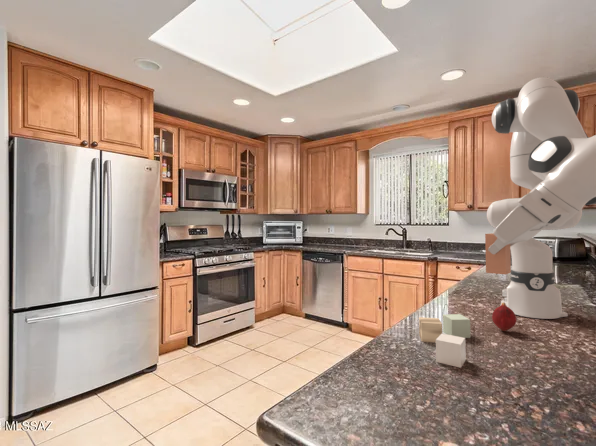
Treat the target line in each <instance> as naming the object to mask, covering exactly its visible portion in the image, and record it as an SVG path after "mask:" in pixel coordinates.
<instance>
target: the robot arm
mask: <svg viewBox="0 0 596 446" xmlns="http://www.w3.org/2000/svg"><path fill="white" fill-rule="evenodd" d="M580 102H581V101H580V98H579V96H578V93H577V92H576V91H575V90H573V89H564V88H563V86H562V85H561V84H560V83H559V82H557V81H556V80H555V79H553V78H551V77H548V76H547V77H546V76H542V77H540V76H539V77H536V78H532V79H531V80H529V81H528V82H526V83H525V84H524V85H523V86H522V88H521V89H520V91H519V93H518V96H517V97H514V98H510V97H509V98H507V99H505V100H503V101H500V102H499V103H497V104H496V105H495V107H494V109H493V111H492V113H491V123H492V126H493V128H494V131H495V132H496V133H498V134H508V135H509V133H512V135H511V136H512V137H511V142H510V151H509V162H510V163H509V164H510V165H509V167H510V168H509V170H510V173H509V174H510V180H511V182H512V183H514V184H515V185H516V186H518V187H522V188H525V189H528V190H529V192H528V193H526V194H525V195H523V196H522V197H517V198H516V197H515V198H505V199H502V200H501V199H500V200H496V201H493V202H492V203H490V205H488V208H487V211H486V219H487V221H488V222H487V223H489V225H490V226H491V227H493V228H494V231H493V232H492V233H493V234H494V235H495V236H496V237H497V240H496V241H495V242H494V243H493V245H491V246H490V247H489V248H488V251H490V252H491V253H492V254H497V253H498V252H499V251H500V250H502V248H503V247H505V246H506V245H508V244H510V254H511V273H509V276H510V277H509V278H510V282H509V284H508V285H507V287H506V288H504V289H502V290H501V293H502V294H501V295H502V297H504V298H503V299H501V301H500V306H501V305H502V303H505V304H506V306H507V307H509V308H510V309H511V310H512V311H513V312H514V313H515V316H516V315H517V316H521V317H524V318H525V317H526V318H532V319H543V320H545V319H546V320H548V319H549V320H552V319H559V318H563V317H565V318H567V317H569V315H568V312H567V311H564V310H563V307H562V297H561V296H562V294H561V290H560V288H557V287H556V286H555V283H556V281H555V280H556V276H555V272H553V271H554V270H553V266H554V263H553V250H552V248H551V247H550V246H549V245H548V244H546V243H545V242H543V241H540V240H538V239H535V238H534V237H535V236H536V235H537V234H539V233H540V232H541V231H557V230H565V229H571V228H575V227H576V226H577V225H578V224H579V223H580V221H581V220H582V216H583V208H584V207H585V206H590V205H591V206H593V205H596V134H595V135H593V136H590V137H589V136H588V134H587V133H586V131H585V129H584V128H583V125H582V124H581V121H580V120H579V118H578V113H579V110H580V108H581V107H580V106H581V105H580V104H581V103H580ZM500 306H499V307H500Z"/></svg>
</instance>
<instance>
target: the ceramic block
mask: <svg viewBox="0 0 596 446" xmlns="http://www.w3.org/2000/svg"><path fill="white" fill-rule="evenodd" d="M466 351H467V350H466V338H463V337H458V336H453V335H447V334H445V333H442V334H441V335H440V336H439V337H438V338H437V339H436V343H435V362H436V363H439V364H443V365H448V366H451V367H452V366H453V367H457V368H460V369H461V368H462V367H463V365H464V364H465V362H466V359H467V358H466V357H467V356H466V353H467V352H466Z"/></svg>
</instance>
